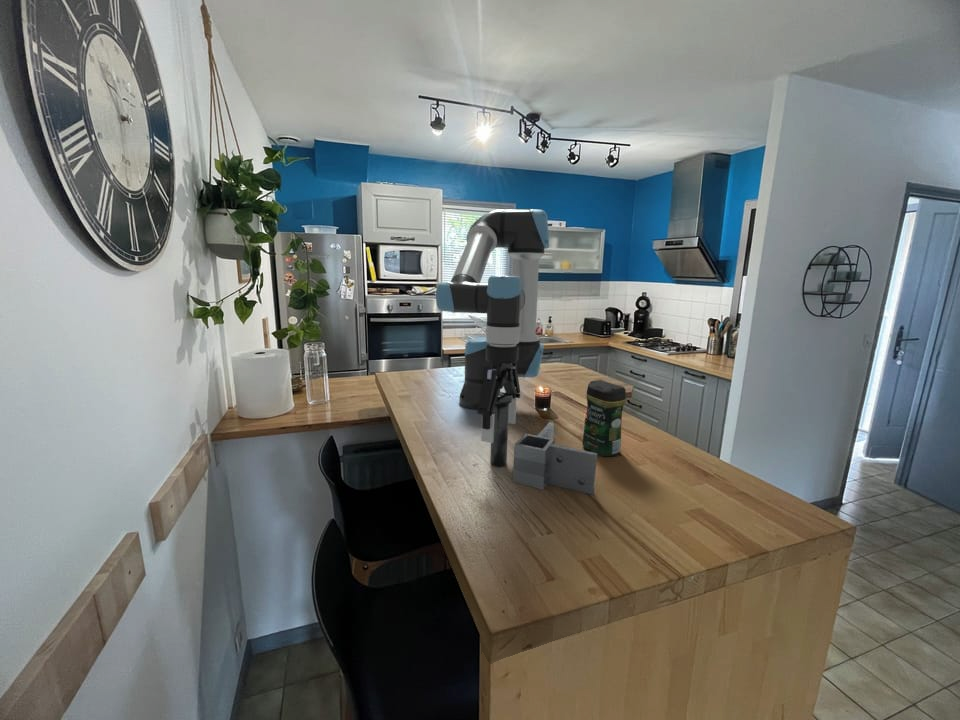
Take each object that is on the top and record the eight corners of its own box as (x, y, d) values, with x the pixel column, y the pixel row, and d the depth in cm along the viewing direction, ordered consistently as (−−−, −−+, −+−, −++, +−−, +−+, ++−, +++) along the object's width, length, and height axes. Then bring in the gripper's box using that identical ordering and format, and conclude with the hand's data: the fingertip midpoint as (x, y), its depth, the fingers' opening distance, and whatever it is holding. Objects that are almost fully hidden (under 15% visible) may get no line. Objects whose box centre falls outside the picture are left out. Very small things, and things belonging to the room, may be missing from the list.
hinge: (536, 452, 107) (538, 420, 105) (604, 467, 100) (607, 432, 98) (512, 482, 92) (514, 444, 90) (590, 501, 85) (593, 461, 83)
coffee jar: (576, 446, 112) (581, 379, 108) (597, 440, 116) (603, 376, 112) (604, 460, 104) (610, 389, 100) (625, 453, 108) (632, 385, 104)
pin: (492, 456, 105) (494, 391, 101) (513, 461, 102) (516, 394, 99) (483, 465, 100) (484, 397, 96) (504, 470, 97) (507, 400, 94)
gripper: (507, 336, 107) (504, 414, 112) (462, 350, 85) (460, 447, 89) (535, 338, 104) (531, 418, 108) (495, 354, 82) (492, 454, 86)
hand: (499, 431), depth 99 cm, fingers open, 13 cm apart
